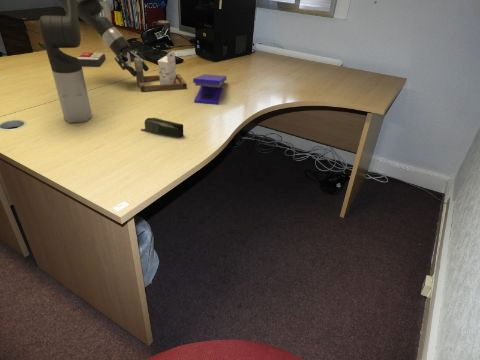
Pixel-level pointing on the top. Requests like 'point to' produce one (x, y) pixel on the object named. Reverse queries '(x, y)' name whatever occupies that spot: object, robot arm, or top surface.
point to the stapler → (209, 88)
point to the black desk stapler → (163, 127)
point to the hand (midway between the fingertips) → (141, 72)
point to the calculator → (92, 59)
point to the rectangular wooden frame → (142, 78)
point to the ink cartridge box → (167, 69)
